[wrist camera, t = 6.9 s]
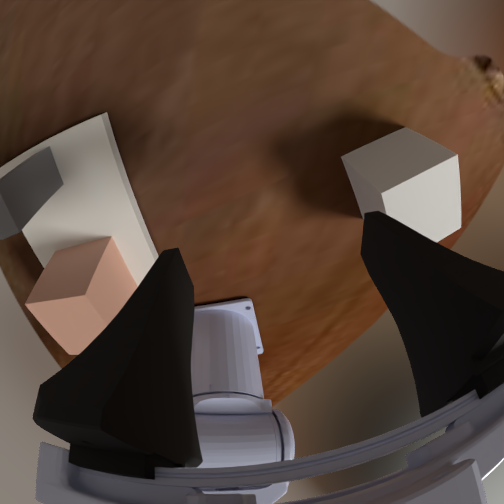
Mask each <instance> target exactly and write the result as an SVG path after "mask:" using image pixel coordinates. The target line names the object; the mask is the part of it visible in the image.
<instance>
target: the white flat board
mask: <svg viewBox="0 0 504 504" xmlns="http://www.w3.org/2000/svg"><path fill="white" fill-rule="evenodd" d="M21 230H22V231H23V233H24V235H25V237H26V239H27V241H28V242H29V244H30V246H31V248H32V249H33V251H34V253H35V254H36V256H37V258H38V259H39V261H40V263H41V264H42V266H43V267H44V268H45V267H46V265H47V263H48V262H49V260H50V259H51V257H52V255H53V254H54V252H55V251H58V250H61V249H65V248H68V247H72V246H76V245H80V244H83V243H87V242H91V241H95V240H99V239H103V238H107V237H111V236H112V238H113V240H114V242H115V244H116V246H117V248H118V250H119V252H120V254H121V256H122V258H123V260H124V262H125V264H126V266H127V267H128V269H129V271H130V273H131V275H132V277H133V279H134V281H135V282H136V284H137V286H139V284H140V283H141V281H142V280H143V279H144V277H145V276H146V274H147V273H148V271H149V270H150V268H151V267H152V265H153V264H154V263H155V261H156V260H157V258H158V257H159V256H158V254H157V251H156V249H155V247H154V244H153V242H152V240H151V237H150V235H149V232H148V230H147V228H146V225H145V223H144V220H143V217H142V215H141V212H140V210H139V207H138V205H137V202H136V199H135V197H134V194H133V191H132V188H131V186H130V183H129V180H128V177H127V174H126V171H125V169H124V166H123V163H122V160H121V157H120V154H119V150H118V147H117V144H116V141H115V138H114V135H113V131H112V128H111V124H110V121H109V118H108V114H107V112H106V113H103V114H101V115H98V116H96V117H94V118H91V119H89V120H87V121H84V122H82V123H80V124H78V125H75V126H73V127H71V128H69V129H67V130H65V131H63V132H61V133H59V134H57V135H55V136H53V137H51V138H49V139H47V140H45V141H43V142H42V143H40V144H38V145H36V146H34V147H33V148H31V149H29V150H27V151H26V152H24V153H22V154H21V155H19V156H17V157H16V158H14V159H13V160H11V161H9V162H8V163H6V164H5V165H3V166H2V167H0V239H1V240H3V239H5V238H7V237H10V236H12V235H14V234H17V233H19V232H20V231H21Z"/></svg>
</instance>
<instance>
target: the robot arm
mask: <svg viewBox="0 0 504 504" xmlns="http://www.w3.org/2000/svg"><path fill="white" fill-rule="evenodd" d="M361 256H362V259H363V261H364V263H365V266H366V268H367V270H368V273H369V275H370V277H371V278H372V280H373V282H374V284H375V285H376V287H377V289H378V291H379V292H380V294H381V296H382V298H383V300H384V301H385V303H386V305H387V307H388V308H389V310H390V312H391V313H392V316H393V318H394V320H395V322H396V324H397V326H398V329H399V331H400V334H401V337H402V339H403V342H404V345H405V348H406V351H407V354H408V358H409V360H410V364H411V368H412V372H413V376H414V379H415V384H416V389H417V395H418V400H419V407H420V414H421V417H422V418H421V419H418V420H416V421H414V422H412V423H409V424H407V425H405V426H403V427H400V428H397V429H395V430H393V431H390V432H387V433H385V434H382V435H379V436H377V437H374V438H371V439H368V440H365V441H362V442H359V443H356V444H352V445H349V446H346V447H343V448H339V449H335V450H331V451H327V452H323V453H319V454H315V455H311V456H306V457H301V458H296V459H294V453H295V452H294V451H295V445H294V444H295V443H294V436H293V431H292V428H291V425H290V422H289V421H288V419H287V418H286V417H285V416H284V415H283V413H282V412H281V411H280V410H277V409H272V404H271V400H270V399H264V396H263V389H262V382H261V375H260V368H259V361H258V355H257V354H261V353H263V347H262V343H261V338H260V334H259V329H258V325H257V321H256V316H255V312H254V307H253V303H252V300H251V299H249V298H245V299H239V300H233V301H227V302H221V303H215V304H209V305H203V306H197V307H195V306H194V286H193V284H192V281H191V279H190V276H189V274H188V271H187V269H186V266H185V264H184V261H183V259H182V256H181V254H180V251H179V248H174V249H169V250H164V251H163V252H162V253H161V254H160V256H159V257H158V258H157V260H156V261H155V263H154V264H153V265H152V267H151V268H150V270H149V271H148V273H147V274H146V276H145V277H144V279H143V280H142V281H141V283H140V284H139V286H138V287H137V289H136V290H135V291H134V293H133V294H132V295H131V297H130V298H129V299H128V301H127V302H126V303H125V305H124V306H123V307H122V309H121V310H120V311H119V312H118V314H117V315H116V316H115V317H114V318H113V320H112V321H111V322H110V323H109V324H108V325H107V327H106V328H105V329H104V330H103V331H102V332H101V333H100V334H99V335H98V336H97V337H96V338H95V339H94V340H93V341H92V342H91V343H90V344H89V345H88V346H87V347H86V348H85V349H84V350H83V351H82V352H81V353H80V354H79V355H78V356H77V357H76V358H74V359H73V360H72V361H71V362H70V363H69V364H67V365H66V366H65V367H64V368H63V369H61V370H60V371H59V372H57V373H56V374H55V375H53V376H52V377H51V378H49V379H48V380H47V381H45V382H44V383H43V384H41V385H40V388H39V392H38V396H37V400H36V404H35V409H34V413H33V420H34V421H35V423H36V424H37V425H38V426H40V427H41V428H43V429H44V430H46V431H48V432H49V433H51V434H53V435H55V436H57V437H59V438H60V439H63V440H64V441H66V442H69V443H70V450H67V449H65V448H61V447H58V446H54V445H51V444H48V443H44V442H41V443H40V450H39V458H38V467H37V479H36V500H37V501H39V502H41V503H43V504H273V503H274V502H275V501H277V500H278V499H279V498H280V497H282V496H283V495H284V494H285V493H286V492H287V490H288V485H289V481H294V480H300V479H305V478H309V477H314V476H318V475H322V474H327V473H331V472H334V471H338V470H342V469H345V468H349V467H352V466H355V465H358V464H362V463H365V462H367V461H370V460H373V459H376V458H379V457H381V456H384V455H387V454H389V453H392V452H394V451H397V450H399V449H402V448H404V447H406V446H408V445H411V444H413V443H415V442H417V441H419V440H422V439H424V438H426V437H428V436H430V435H432V434H434V433H436V432H437V431H439V430H441V429H443V428H445V427H447V426H448V427H447V428H446V431H445V433H444V434H443V435H441V436H439V437H437V438H435V439H434V440H432V441H430V442H428V443H427V444H425V445H423V446H422V447H420V448H418V449H416V450H414V451H412V452H410V453H408V454H407V455H406V456H405V457H406V461H407V464H408V467H406V468H404V469H402V470H399V471H397V472H395V473H392V474H389V475H387V476H384V477H381V478H379V479H376V480H373V481H370V482H367V483H364V484H361V485H358V486H355V487H351V488H348V489H344V490H341V491H337V492H333V493H329V494H325V495H321V496H316V497H312V498H307V499H302V500H297V501H292V502H285V503H279V504H487V501H486V495H485V491H484V487H483V483H482V480H483V479H484V478H485V477H486V476H487V475H489V474H490V473H491V472H492V471H493V470H494V469H495V468H496V467H497V466H498V465H499V464H500V463H501V462H502V461H503V460H504V271H501V270H497V269H495V268H491V267H489V266H486V265H483V264H481V263H479V262H476V261H473V260H471V259H469V258H467V257H464V256H462V255H460V254H458V253H456V252H454V251H452V250H450V249H448V248H446V247H444V246H442V245H440V244H438V243H436V242H434V241H433V240H431V239H429V238H427V237H425V236H424V235H422V234H420V233H418V232H417V231H415V230H413V229H411V228H410V227H408V226H406V225H404V224H403V223H401V222H399V221H397V220H396V219H394V218H392V217H390V216H388V215H386V214H384V213H382V212H380V211H373V212H367V213H364V225H363V236H362V246H361ZM247 306H249V307H247Z"/></svg>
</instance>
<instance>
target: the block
mask: <svg viewBox="0 0 504 504" xmlns="http://www.w3.org/2000/svg"><path fill="white" fill-rule="evenodd" d="M137 287H138V286H137V284H136V282H135V281H134V279H133V277H132V275H131V273H130V271H129V269H128V267H127V266H126V264H125V262H124V260H123V258H122V256H121V254H120V252H119V250H118V248H117V246H116V244H115V242H114V240H113V238H112V236H111V237H107V238H103V239H99V240H95V241H91V242H87V243H83V244H80V245H76V246H72V247H68V248H65V249H61V250H58V251H55V252H54V254H53V255H52V257H51V259H50V260H49V262H48V263H47V265H46V267H45V268H44V270H43V272H42V274H41V275H40V277H39V279H38V281H37V282H36V284H35V286H34V288H33V290H32V291H31V293H30V295H29V297H28V299H27V301H26V303H25V305H26V306H27V308H28V309H29V310H30V311H31V313H32V314H33V315H34V316H35V317H36V319H37V320H38V321H39V322H40V323H41V325H42V326H43V327H44V328H45V329H46V330H47V331H48V333H49V334H50V335H51V336H52V337H53V338H54V339H55V340H56V341H57V342H58V343H59V344H60V346H61V347H62V348H63V349H64V350H65V351H66V352H67V353H68V354H69V355H79V354H80V353H81V352H82V351H83V350H84V349H85V348H86V347H87V346H88V345H89V344H90V343H91V342H92V341H93V340H94V339H95V338H96V337H97V336H98V335H99V334H100V333H101V332H102V331H103V330H104V329H105V328H106V327H107V325H108V324H109V323H110V322H111V321H112V320H113V318H114V317H115V316H116V315H117V314H118V312H119V311H120V310H121V309H122V307H123V306H124V305H125V303H126V302H127V301H128V299H129V298H130V297H131V295H132V294H133V293H134V291H135V290H136V289H137Z"/></svg>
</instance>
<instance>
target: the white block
mask: <svg viewBox="0 0 504 504" xmlns="http://www.w3.org/2000/svg"><path fill="white" fill-rule="evenodd" d="M341 159H342V161H343V164H344V166H345V169H346V172H347V174H348V177H349V180H350V183H351V185H352V188H353V191H354V194H355V197H356V200H357V203H358V206H359V209H360V212H361V215H362V218H363V220H364V213H367V212H373V211H380V212H382V213H384V214H386V215H388V216H390V217H392V218H394V219H396V220H397V221H399V222H401V223H403V224H404V225H406V226H408V227H410V228H411V229H413V230H415V231H417V232H418V233H420V234H422V235H424V236H425V237H427V238H429V239H431V240H433V241H434V242H438V241H440V240H441V239H443V238H445V237H446V236H448V235H450V234H451V233H453V232H454V231H456V230H458V229H459V228H461V192H460V176H459V164H458V155H457V154H456V153H454V152H452V151H451V150H449V149H447V148H445V147H444V146H442V145H440V144H438V143H436V142H434V141H433V140H431V139H429V138H427V137H425V136H423V135H421V134H419V133H417V132H415V131H413V130H411V129H409V128H407V127H404V128H402V129H400V130H398V131H395V132H393V133H391V134H389V135H386V136H384V137H382V138H380V139H378V140H375V141H373V142H371V143H369V144H367V145H364V146H362V147H360V148H358V149H356V150H354V151H352V152H350V153H347V154H345V155H343V156H341Z"/></svg>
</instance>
